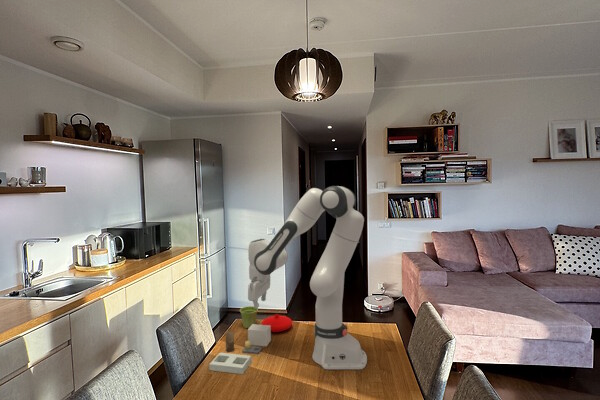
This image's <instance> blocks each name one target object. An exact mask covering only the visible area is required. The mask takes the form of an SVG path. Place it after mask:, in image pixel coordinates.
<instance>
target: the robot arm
mask: <svg viewBox="0 0 600 400" xmlns="http://www.w3.org/2000/svg"><path fill="white" fill-rule="evenodd" d="M356 198H357V197H356V195H355V193H354V191H353V190H351V189H350V188H347V187H345V186H342V185H341V186H339V185H331V186H328V187H326V188H324V189H323V190H322V189H320V188H317V187H312V188H310V189H308V190H307V191H306V192H305V193H304V194H303V196H302V197H301V198H300V199H299V200H298V202H297V204H296V205H295V207H294V208H293V209H292V210H291V212H290V214H289V215H288V217H287V218H286V220H285V222H284V223H283V225H282V227H280V229H279V230H278V231H277V233H276V234H275V236H274V237H273V238H272V240H270V242H269V241H268V240H267V239H265V238H258V239H254V240H252V241H250V243H249V245H248V255H247V256H248V262H249V266H248V276H249V277H248V278H249V280H250V282H249V283H248V287H247V300H248V301H249V302H252V303H253V304H252V305H253V307H254V308H258V309H259V307H260V305H259V304H260V303H259V302H258V301H259V298H260V299H261V301H262V302H265V301H266V300H267V298H266V297H267V294H268V293H267V291H268V290H269V289H270V287H271V274H272V273H273V272H274V271H276V270H279V269H280V268H281V267H283V266H284V265H286V264H287V263H288V259H289V258H288V257H289V255H288V252H287V250H286V248H287V246H288V245H289V243H290V242H292V240H294V239H296V238H297V237H298V236H300V235H302V234H305V233H306V232H307V231H309V230H310V229H311V228H312V227H313V226H314V225H315V224H316V222H317V221H318V219H319V218H320V216H321V215H322V214H323V213H324V212H325V211H326V212H327V213H328V214H329V215H330V216H332V218H335V219H336V221H335V224H334V227H333V229H332V232H331V234H330V237H329V240H328V242H327V243H326V246H325V249H324V251H323V253H322V255H321V257H320V259H319V261H317V262H318V263H317V265H316V266H315V269H314V271H313V272H312V275H311V278H310V281H309V287H310V290H311V292H312V294H313V295H314V296H316V301H315V322H314V323H315V324H314V326H313V327H314V329H313V330H314V338H315V340H314V348H313V353H312V356H311V357H312V358H311V359H312V360H313V361H314V362H315V363H316V364H318V365H320V366H321V367H322V368H323V369H324V370H363V369H364V368H365V367H366V366H367V363H368V356H367V354H366V352H365V351H364V350H363V349H362V347H361V344H360V342H359V340H358V339H356V338H355V337H354V336H352V335H351V334H350V333H349V331H348V325H347V323H345V324H344V322H343V299H344V290H345V289H344V288H345V286H344V285H345V272H346V269H347V267H348V266H349V263H350V261H351V259H352V257H353V255H354V252H355V250H356V248H357V246H358V243H359V240H360V238H361V235H362V231H363V228H364V222H365V217H364V216H363V214H362V213H361V212H360V211H358V210H355V208H354V207H355V205H356V204H357V203H356V202H357V199H356Z"/></svg>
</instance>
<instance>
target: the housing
mask: <svg viewBox="0 0 600 400" xmlns="http://www.w3.org/2000/svg"><path fill="white" fill-rule="evenodd" d="M271 337H272V332H271V326H270V325H261V324H256V323H255V324H252V325H251V326H250V327H249V328H248V329H247V341H250V343H251V346H256V347H267V346H268V345H269V343H270V342H271V341H272V338H271Z"/></svg>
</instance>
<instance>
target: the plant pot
mask: <svg viewBox="0 0 600 400" xmlns="http://www.w3.org/2000/svg"><path fill="white" fill-rule="evenodd" d="M258 310H259V307H258V308H254V305H253V306H244V307H241V308H240V309H239V312H240V314H241V320H242V325H243V328H245V329H247V328H248V329H249V327H250V326H251V325H252V324H256V321H257V314H258Z"/></svg>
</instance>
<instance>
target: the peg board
mask: <svg viewBox="0 0 600 400" xmlns="http://www.w3.org/2000/svg"><path fill="white" fill-rule="evenodd" d="M251 363H252V355H248V354H237V353H230V352H227V353H226V352H219V353H218V354H217V355H216V356H215V357H214V359H212V360H211V362H210V363H209V364H208V365H209V371H212V372H213V371H215V372H219V373H220V372H222V373H230V374H238V375H244V373H245V372H246V371H247V369H248V368H249V366H250V364H251Z"/></svg>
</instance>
